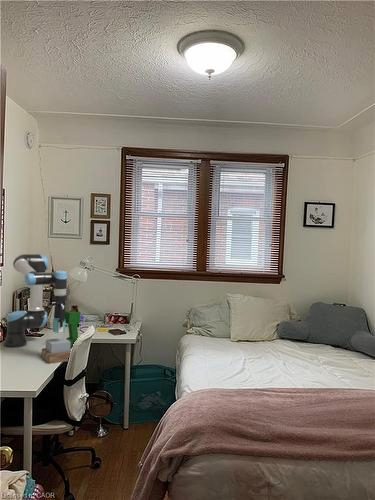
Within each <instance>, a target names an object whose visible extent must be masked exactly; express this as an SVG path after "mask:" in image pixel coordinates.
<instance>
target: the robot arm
mask: <svg viewBox="0 0 375 500" xmlns="http://www.w3.org/2000/svg"><path fill="white" fill-rule="evenodd" d="M12 266H13V269H14V270H15V271H17V272H19V273H21V275H23V277H24V283H25V284H26V285H27V286H30V288H29V289H30V291H29V292H30V293H29V294H30V295H29V297H30V298H29V308H28V309H27V312H26V311H25V310H16V311H12V312H10V313H8V314H7V318H6V319H7V320H6V322H7V323H6V336H5V338H4V341H3V346H4V347H7V348H20V347H24V346H27V344H28V340H27V336H26V333H25V331H26V330H29V329H39V328H44V327H45V326H46V324H47V322H48V312H47V311H45V308H44V307H43V301H44V300H43V299H44V298H43V297H44V295H43V294H44V293H43V292H44V291H43V289H44V285H53V291H52V292H53V301H54V302H55V303H54V309H53V310H54V312H53V314H54V315H53V319H54V318H59V321H58V322H59V326H58V332H59V333H64V332H63V322H64V321H65V311H66V305H65V304H64V302H66V301H67V283H68V273H67V271H66V270H56V271H54V272H46V271H47V270H48V269H49V260H48V257H47V256H46V255H45V254H32V253H31V254H24V253H23V254H19V255H18V256H16V257H15V258H14V260H13V263H12Z"/></svg>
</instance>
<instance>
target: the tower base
mask: <svg viewBox="0 0 375 500" xmlns="http://www.w3.org/2000/svg"><path fill="white" fill-rule="evenodd" d="M45 348H46V347H44V348H41V358H42V359H43V358H44V359H45V360H46V361H45V360H44V359H43V360H44V361H45V362H47V363H48V365H51V363H52V364H57V363H64V362H69V361H68V358H69V355H70V352H71V349H72V348H70V351H67V352H60V353H53V354H51V353H50V352H49V351H47V350H46V349H45Z"/></svg>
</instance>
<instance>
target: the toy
mask: <svg viewBox="0 0 375 500" xmlns="http://www.w3.org/2000/svg"><path fill="white" fill-rule="evenodd" d="M65 324H66V325H67V326H68V337H66V339H67V340H69V341H70V342H71V345H70V348H71V349H72V348H73V347H74V346H73V344H74V342H75V341H76V340H77V338H78V337H79V331H78V324H81V311H79V306H78V305H77V304H76V305H75V304H74V305H70V310H65Z"/></svg>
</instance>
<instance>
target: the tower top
mask: <svg viewBox="0 0 375 500" xmlns="http://www.w3.org/2000/svg"><path fill="white" fill-rule="evenodd" d="M66 338H67V337H66ZM66 338H65V337H59V338H58V337H57V338H49V339H46V340H45V347H44V348H45V349H46V350H47V351H49V352H50V353H51V354H53V353H60V352H67V351H70V345H71V342H70V341H69V340H67V339H66Z"/></svg>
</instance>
